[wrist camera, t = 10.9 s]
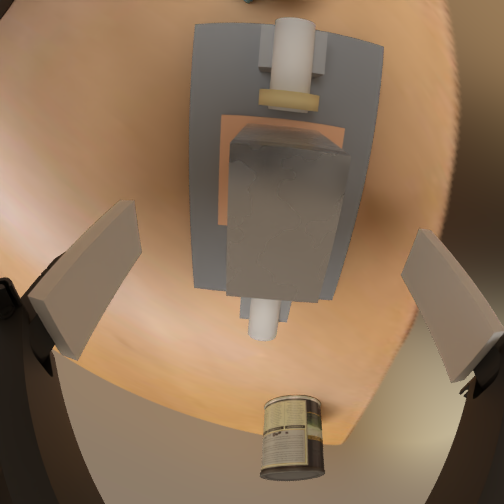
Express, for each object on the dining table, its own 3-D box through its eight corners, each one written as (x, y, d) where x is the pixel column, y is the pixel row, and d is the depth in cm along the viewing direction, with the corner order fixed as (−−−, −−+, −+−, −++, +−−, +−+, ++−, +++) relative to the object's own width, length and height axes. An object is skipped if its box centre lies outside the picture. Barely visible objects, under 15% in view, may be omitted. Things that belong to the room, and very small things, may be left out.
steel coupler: (242, 221, 22) (226, 295, 15) (247, 123, 18) (229, 142, 10) (302, 227, 22) (317, 302, 14) (317, 130, 18) (351, 156, 10)
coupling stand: (199, 27, 15) (164, -1, 9) (378, 48, 15) (425, 33, 8) (196, 281, 28) (178, 337, 22) (329, 293, 28) (342, 350, 21)
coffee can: (331, 398, 41) (337, 470, 29) (303, 419, 46) (305, 481, 34) (277, 390, 39) (275, 470, 28) (255, 412, 45) (250, 478, 33)
